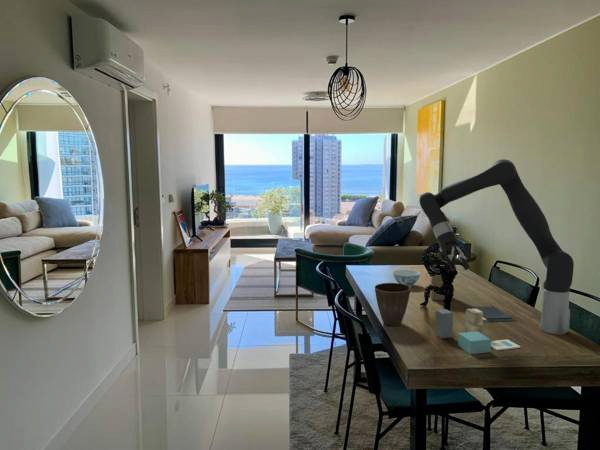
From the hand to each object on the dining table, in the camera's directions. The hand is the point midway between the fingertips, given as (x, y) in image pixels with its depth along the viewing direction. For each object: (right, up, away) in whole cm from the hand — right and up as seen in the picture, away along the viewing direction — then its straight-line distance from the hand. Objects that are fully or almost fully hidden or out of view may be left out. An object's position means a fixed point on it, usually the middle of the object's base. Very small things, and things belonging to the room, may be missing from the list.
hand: (460, 269), depth 177 cm
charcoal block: (-8, -26, -4) cm, 27 cm away
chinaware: (-5, -17, +71) cm, 73 cm away
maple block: (+4, -26, -3) cm, 26 cm away
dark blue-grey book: (+21, -23, +21) cm, 38 cm away
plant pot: (-26, -24, +10) cm, 37 cm away
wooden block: (+7, -20, +46) cm, 51 cm away
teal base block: (-1, -28, -17) cm, 32 cm away
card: (+10, -27, -14) cm, 32 cm away
